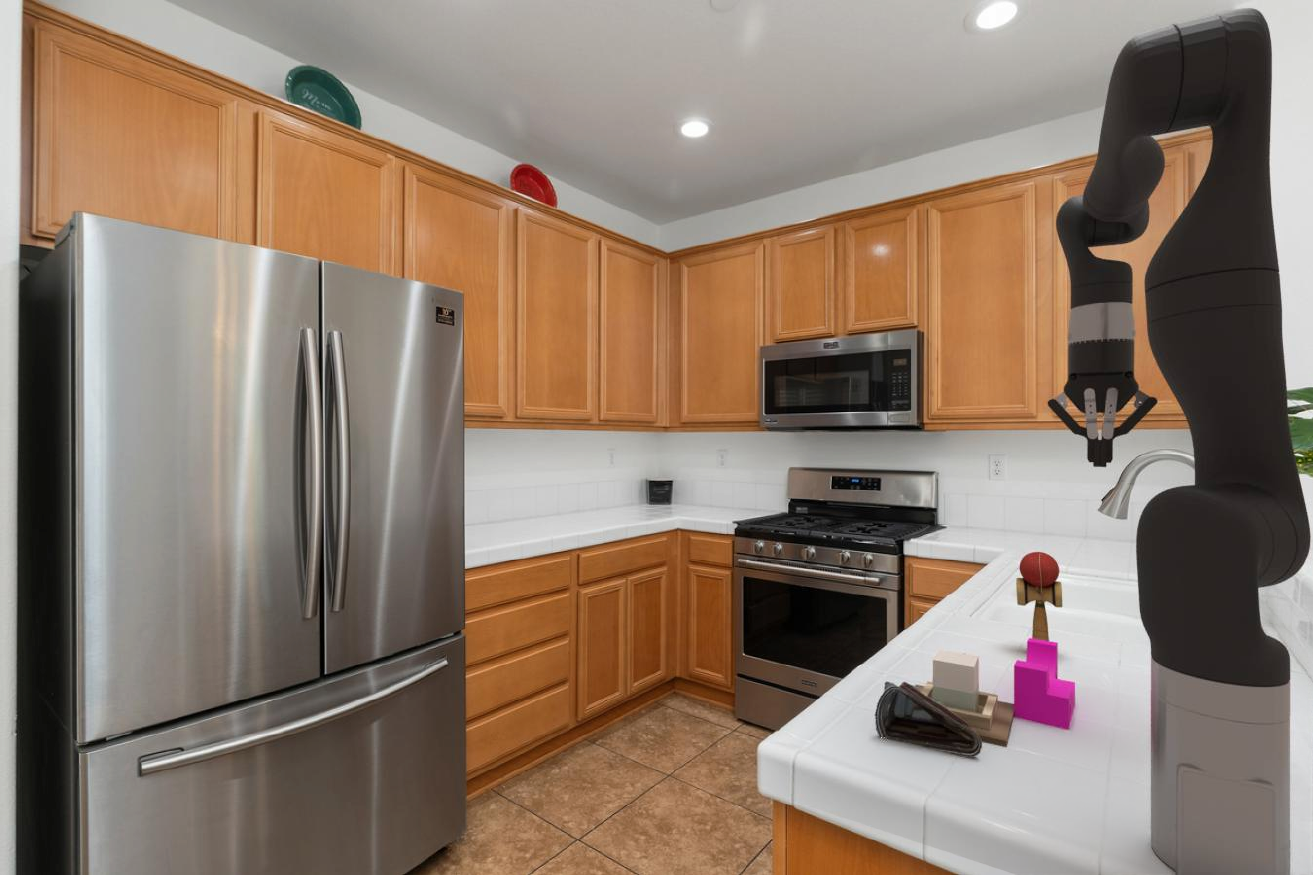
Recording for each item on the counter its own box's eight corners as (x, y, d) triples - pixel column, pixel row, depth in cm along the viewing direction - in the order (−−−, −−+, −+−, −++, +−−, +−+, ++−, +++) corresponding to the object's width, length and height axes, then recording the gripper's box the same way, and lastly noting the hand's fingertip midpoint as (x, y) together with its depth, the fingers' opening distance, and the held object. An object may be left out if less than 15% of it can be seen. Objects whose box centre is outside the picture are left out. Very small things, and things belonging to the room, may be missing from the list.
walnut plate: (1006, 750, 78) (1006, 728, 78) (894, 724, 86) (894, 704, 86) (1015, 712, 89) (1015, 693, 89) (915, 692, 96) (915, 674, 96)
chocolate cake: (992, 725, 81) (916, 649, 85) (989, 746, 74) (907, 662, 79) (936, 771, 83) (865, 694, 88) (929, 794, 77) (854, 710, 82)
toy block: (1068, 733, 84) (1068, 675, 84) (1013, 721, 87) (1014, 665, 87) (1077, 696, 96) (1077, 645, 96) (1028, 686, 99) (1029, 637, 99)
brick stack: (974, 720, 84) (974, 666, 84) (932, 712, 87) (932, 659, 87) (978, 707, 88) (978, 655, 88) (939, 699, 91) (939, 649, 91)
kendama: (1007, 653, 114) (1007, 551, 114) (1021, 645, 118) (1021, 547, 118) (1057, 665, 108) (1057, 557, 108) (1069, 656, 112) (1069, 552, 112)
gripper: (1157, 340, 88) (1156, 466, 89) (1044, 346, 95) (1043, 464, 96) (1165, 333, 82) (1164, 469, 82) (1043, 340, 89) (1042, 466, 89)
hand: (1099, 466), depth 89 cm, fingers closed
